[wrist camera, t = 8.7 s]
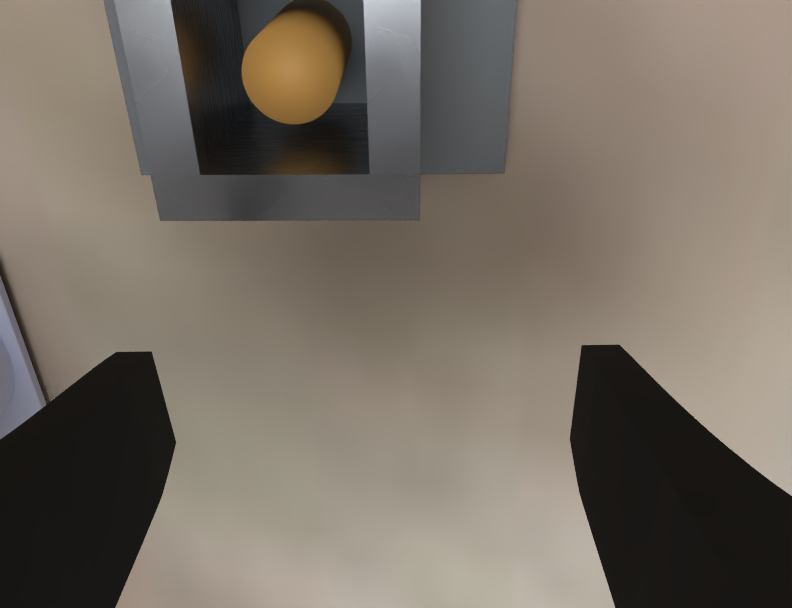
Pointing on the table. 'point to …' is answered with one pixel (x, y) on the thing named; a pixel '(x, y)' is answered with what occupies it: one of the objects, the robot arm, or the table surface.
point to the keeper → (346, 72)
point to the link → (271, 121)
